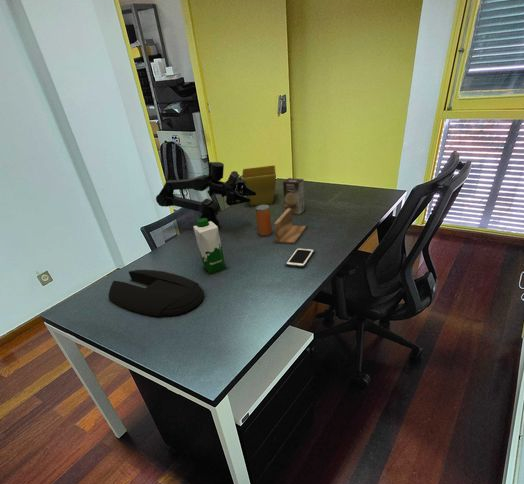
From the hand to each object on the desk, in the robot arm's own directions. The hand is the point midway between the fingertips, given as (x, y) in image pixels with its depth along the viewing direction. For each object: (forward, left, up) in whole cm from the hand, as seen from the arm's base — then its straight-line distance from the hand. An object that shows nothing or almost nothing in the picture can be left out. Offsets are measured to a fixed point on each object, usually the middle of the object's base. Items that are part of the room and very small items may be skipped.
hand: (253, 197), depth 154 cm
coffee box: (+15, +23, -16) cm, 32 cm away
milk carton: (-10, -38, -16) cm, 43 cm away
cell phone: (+25, -30, -16) cm, 42 cm away
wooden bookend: (+18, -6, -16) cm, 25 cm away
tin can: (+5, -4, -16) cm, 17 cm away
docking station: (-26, -59, -16) cm, 66 cm away
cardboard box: (-7, +41, -16) cm, 44 cm away
